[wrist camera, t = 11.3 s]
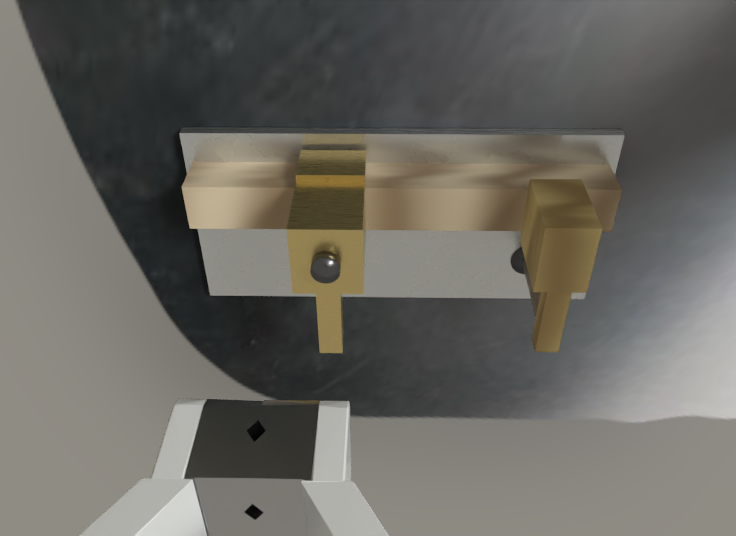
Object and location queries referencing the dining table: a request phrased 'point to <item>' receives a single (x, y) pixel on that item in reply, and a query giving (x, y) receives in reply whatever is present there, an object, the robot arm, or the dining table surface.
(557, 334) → the trammel beam
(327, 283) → the sliding leg
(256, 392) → the dining table surface
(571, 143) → the flange plate
